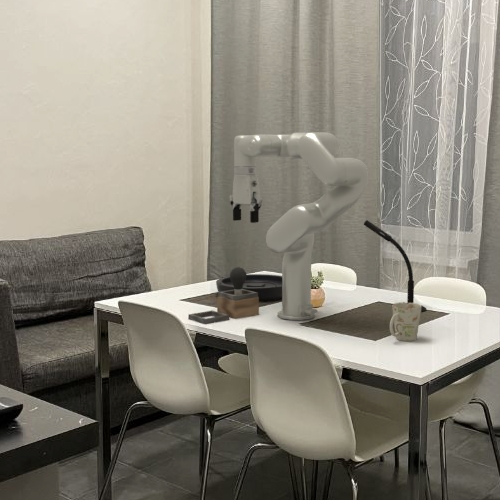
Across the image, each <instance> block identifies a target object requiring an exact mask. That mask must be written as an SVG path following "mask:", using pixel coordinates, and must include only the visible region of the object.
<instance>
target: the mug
mask: <svg viewBox="0 0 500 500" xmlns="http://www.w3.org/2000/svg"><path fill="white" fill-rule="evenodd" d="M421 314H422V312H421V304H419V303H415V302H414V303H407V302H405V303H403V302H395V303H393V304H392V317H391V319H390V322H389V332H390V334H391V336H392V337H394V338H395V340H397V341H400V342H414V341H416V340H417V338H418V332H419V326H420V319H421Z"/></svg>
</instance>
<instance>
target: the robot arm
mask: <svg viewBox="0 0 500 500" xmlns="http://www.w3.org/2000/svg"><path fill="white" fill-rule="evenodd" d="M233 141H234V142H233V144H234V145H233V147H234V149H233V150H234V151H233V152H234V153H233V155H234V158H233V159H234V162H233V163H234V164H233V165H234V167H233V169H234V174H233V175H234V176H233V184H232V193H231V194H230V195H229V196H228V197H229V202H230V205H231V209H232V220H233V221H241V220H242V209H241V206H242V205H244V206H249V209H250V213H249V215H250V216H249V219H250V220H249V222H250V223H251V224H256V223H259V219H260V218H259V216H260V215H259V211H260V210H261V206H262V203H263V200H264V199H263V197H262V196H261V192H260V183H259V177H258V175H257V158H278V157H279V158H280V157H282V158H285V157H287V158H292V159H294V160H303V162H304V163H305V164H306V165H307V166H308V168H309V169H310V170H311V171H312V172H313V173H314V175H315V176H316V178H317V179H318V180H319V181H320V182H322V183H323V184H324V185H326V186H328V187H332V188H330V189H329V190H328V191H327V192H325V193H324V194H323V195H322V196H321V197H320V198H318V199H317V200H316V201H313V202H311V203H302V204H298V205H295V206H293V207H292V208H290V209H288V210H287V211H286V212H285V213H284V214H283V215H282V216H281V217H279V219H277V220H276V221H275V222H274V223H273V224H272V225H271V226H270V227H269V229H268V230H267V231H266V235H265V242H266V245H267V247H268V249H269V250H270V251H272V252H274V253H277V254H284V255H283V257H282V264H281V265H282V267H281V268H282V269H281V273H282V275H281V276H282V299H281V305H282V306H281V308H282V309H281V310H279V311H277V317H278V318H280V319H283V320H289V321H290V320H291V321H303V320H304V321H306V320H311V319H314V318H315V317H316V314H317V313H318V309H317V308H314V304H313V303H312V255H313V248H314V243H315V234H317V233H318V234H319V233H321V232H324V231H325V230H326V229H328V228H329V227H330V226H331V225H332V224H333V223H334V222H336V221H337V220H338V219H339V218H341V216H343V215H344V214H345V213H346V212H347V211H348V210H349V209H351V208H352V207H353V206H354V205H355V204H357V203H358V202H359V201H360V199H361V198H362V197H363V195H364V194H365V192H366V190H367V187H368V185H369V179H370V178H369V175H370V174H369V169H368V168H367V167H368V166H367V165H366V164H365V162H364V161H362V160H361V159H357V158H355V157H335V156H336V155H337V154H338V152H339V151H340V141H339V139H338V138H337V136H335V135H334V134H333V133H330V132H325V131H324V132H321V131H319V132H316V131H315V132H314V131H313V132H311V131H310V132H293V133H291V134H267V133H266V134H263V133H262V134H260V133H259V134H252V135H251V134H250V135H247V134H245V135H243V134H242V135H235V137H234V140H233Z"/></svg>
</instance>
